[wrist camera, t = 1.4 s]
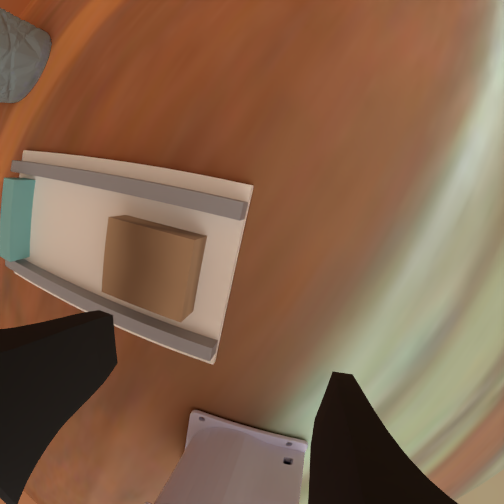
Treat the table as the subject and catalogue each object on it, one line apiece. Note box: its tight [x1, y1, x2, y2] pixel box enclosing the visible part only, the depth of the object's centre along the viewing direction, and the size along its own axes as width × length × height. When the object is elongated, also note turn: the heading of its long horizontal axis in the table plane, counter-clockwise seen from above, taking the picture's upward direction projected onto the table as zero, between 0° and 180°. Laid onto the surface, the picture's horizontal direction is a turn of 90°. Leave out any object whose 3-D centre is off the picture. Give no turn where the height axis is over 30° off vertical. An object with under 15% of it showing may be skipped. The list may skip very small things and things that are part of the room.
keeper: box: [102, 215, 207, 322], centre depth 18 cm, size 6×5×2 cm
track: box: [0, 150, 254, 364], centre depth 19 cm, size 22×12×3 cm, turn 77°
